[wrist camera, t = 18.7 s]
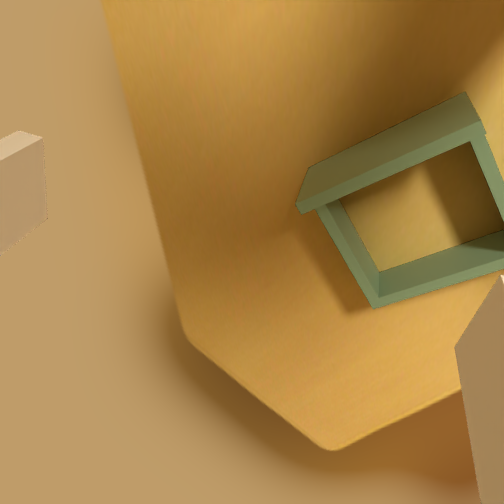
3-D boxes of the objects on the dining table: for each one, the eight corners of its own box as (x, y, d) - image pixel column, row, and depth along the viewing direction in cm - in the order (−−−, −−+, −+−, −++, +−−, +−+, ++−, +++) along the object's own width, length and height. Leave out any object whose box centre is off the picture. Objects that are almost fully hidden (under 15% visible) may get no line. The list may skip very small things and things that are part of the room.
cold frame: (308, 167, 51) (295, 204, 43) (465, 91, 43) (481, 120, 36) (374, 283, 57) (372, 333, 49) (522, 233, 49) (546, 283, 42)
